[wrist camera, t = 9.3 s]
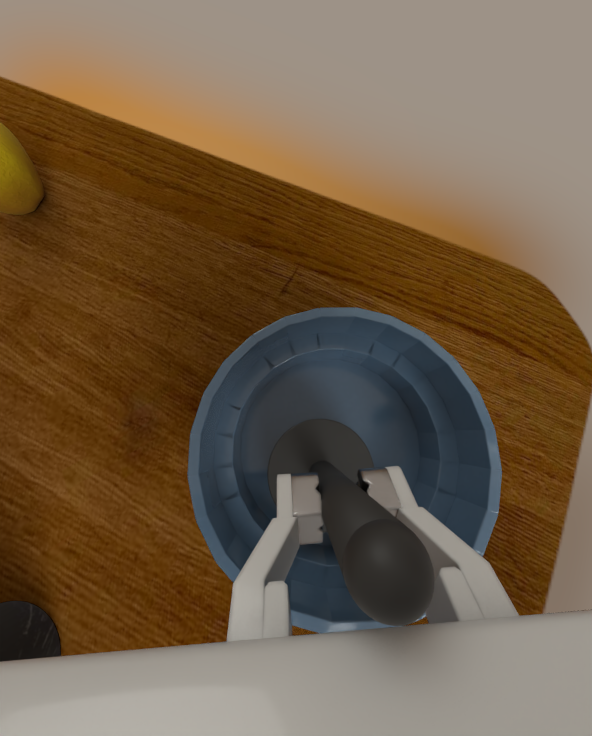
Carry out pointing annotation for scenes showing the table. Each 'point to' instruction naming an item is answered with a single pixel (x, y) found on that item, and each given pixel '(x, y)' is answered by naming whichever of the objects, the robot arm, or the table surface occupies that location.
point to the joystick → (358, 522)
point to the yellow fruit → (17, 177)
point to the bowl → (358, 412)
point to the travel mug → (26, 632)
